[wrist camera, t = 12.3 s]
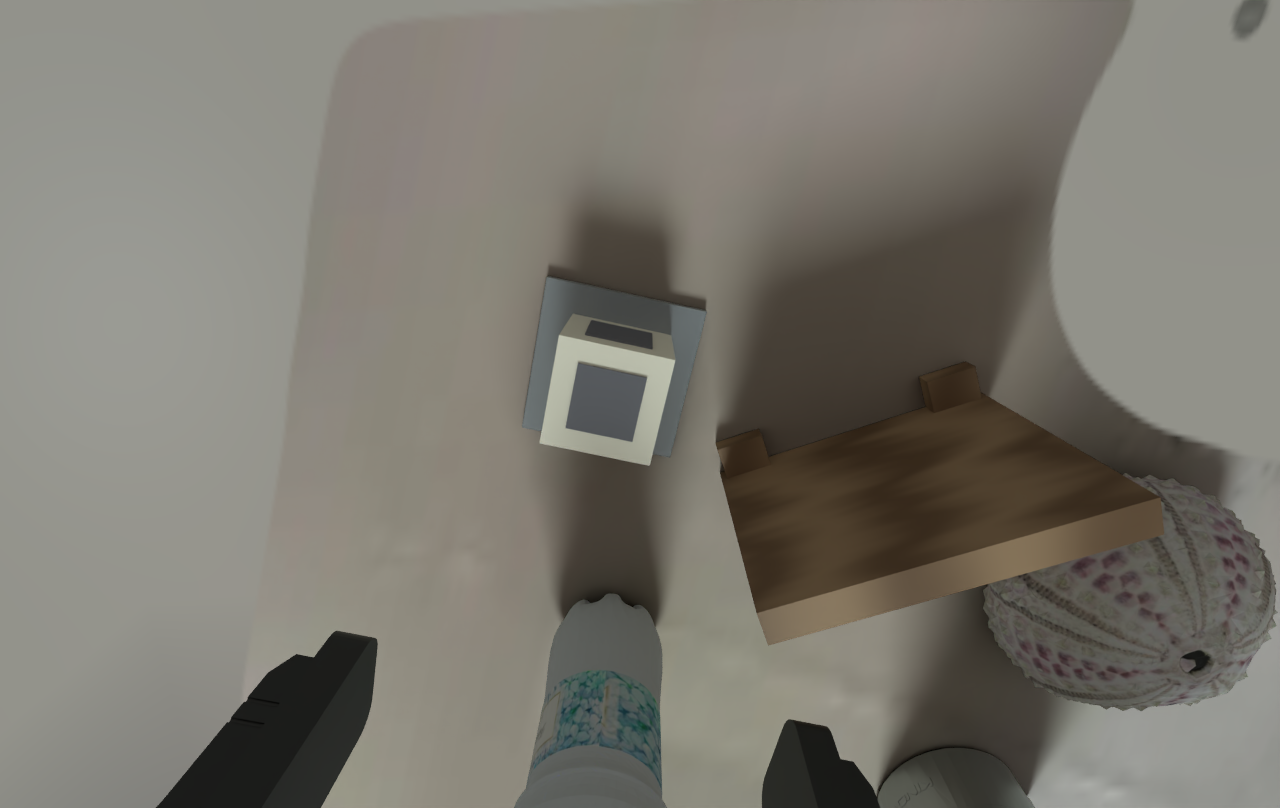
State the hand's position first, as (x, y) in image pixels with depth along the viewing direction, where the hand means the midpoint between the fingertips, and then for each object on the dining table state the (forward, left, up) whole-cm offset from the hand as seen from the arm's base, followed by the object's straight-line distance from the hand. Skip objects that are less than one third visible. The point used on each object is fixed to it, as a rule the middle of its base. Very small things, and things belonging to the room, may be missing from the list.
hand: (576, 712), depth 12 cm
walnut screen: (-12, -4, -21) cm, 25 cm away
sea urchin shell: (-28, -5, -22) cm, 36 cm away
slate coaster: (+1, -1, -21) cm, 21 cm away
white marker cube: (+1, -1, -21) cm, 21 cm away
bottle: (-7, +13, -22) cm, 26 cm away
